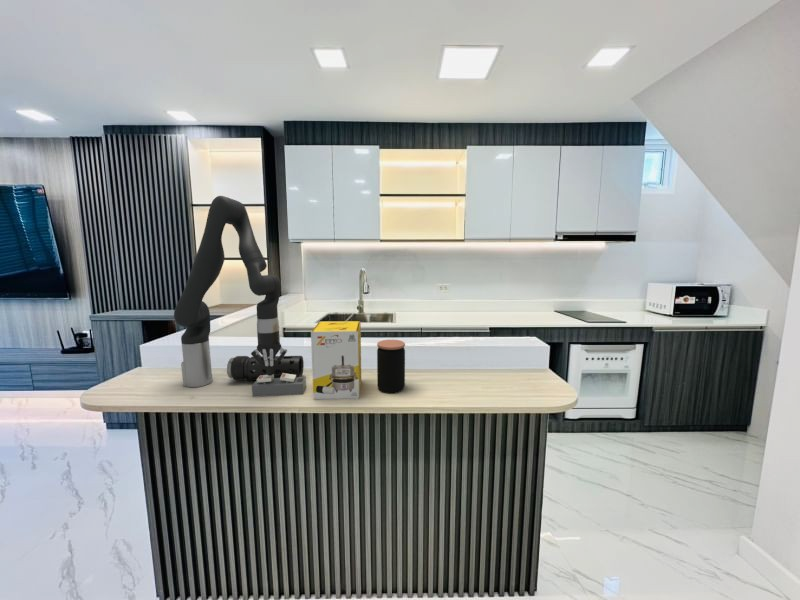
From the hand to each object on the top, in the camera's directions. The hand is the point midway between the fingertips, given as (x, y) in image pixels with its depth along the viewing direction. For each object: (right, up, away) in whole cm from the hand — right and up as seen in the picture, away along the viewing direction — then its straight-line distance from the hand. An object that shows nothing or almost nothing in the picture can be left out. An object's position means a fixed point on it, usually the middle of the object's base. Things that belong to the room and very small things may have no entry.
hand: (270, 374), depth 123 cm
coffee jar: (+45, -6, +5) cm, 46 cm away
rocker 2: (+6, -2, +1) cm, 6 cm away
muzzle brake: (-6, -5, +13) cm, 15 cm away
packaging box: (+25, -7, +3) cm, 26 cm away
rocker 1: (-2, -2, 0) cm, 3 cm away
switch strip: (+3, -7, +2) cm, 7 cm away
